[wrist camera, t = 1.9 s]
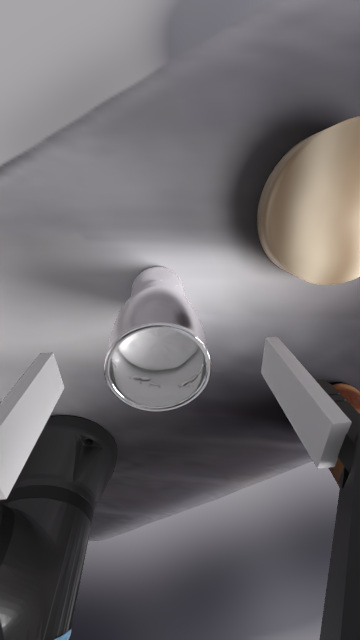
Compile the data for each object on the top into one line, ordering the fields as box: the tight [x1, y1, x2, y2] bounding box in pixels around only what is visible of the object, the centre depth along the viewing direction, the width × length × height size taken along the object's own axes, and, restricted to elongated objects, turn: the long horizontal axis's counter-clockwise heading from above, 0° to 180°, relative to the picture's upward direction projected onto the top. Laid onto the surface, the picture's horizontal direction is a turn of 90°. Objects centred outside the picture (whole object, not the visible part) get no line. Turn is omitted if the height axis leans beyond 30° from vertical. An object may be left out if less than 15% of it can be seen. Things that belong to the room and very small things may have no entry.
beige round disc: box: [257, 116, 360, 285], centre depth 24 cm, size 14×14×4 cm
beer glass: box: [104, 267, 212, 411], centre depth 22 cm, size 7×7×15 cm
